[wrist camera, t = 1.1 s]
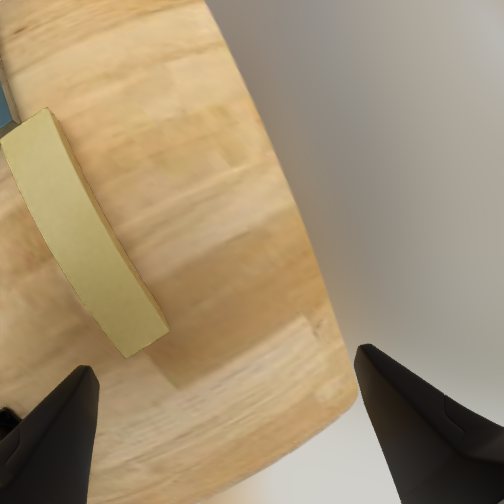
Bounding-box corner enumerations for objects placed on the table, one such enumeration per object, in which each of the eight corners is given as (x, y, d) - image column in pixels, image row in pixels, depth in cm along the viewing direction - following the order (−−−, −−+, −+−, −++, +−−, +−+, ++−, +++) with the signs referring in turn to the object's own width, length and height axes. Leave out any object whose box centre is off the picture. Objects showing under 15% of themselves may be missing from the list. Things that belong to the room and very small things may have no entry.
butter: (162, 311, 19) (170, 331, 17) (123, 335, 19) (125, 359, 16) (58, 119, 14) (47, 106, 12) (16, 147, 14) (-2, 139, 11)
